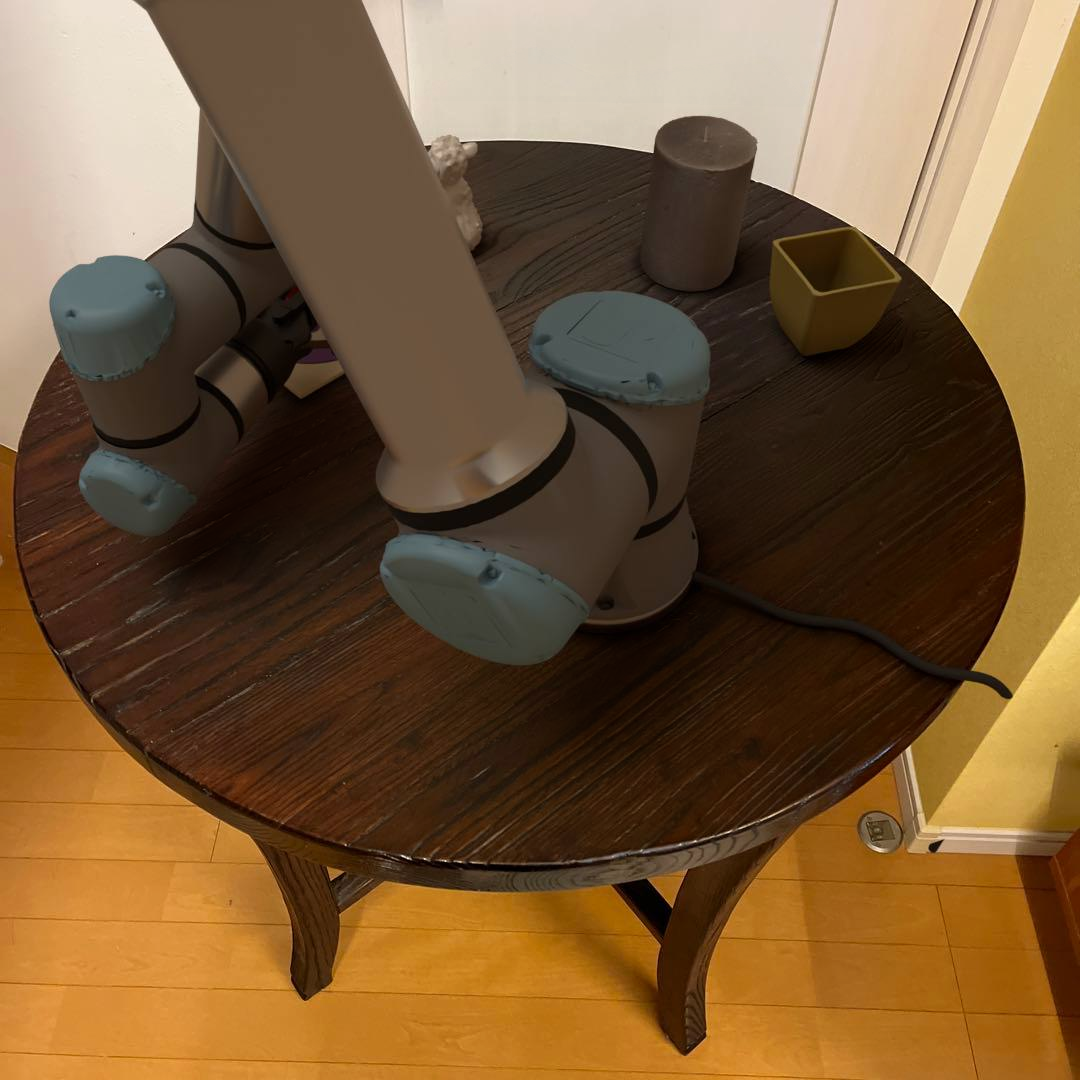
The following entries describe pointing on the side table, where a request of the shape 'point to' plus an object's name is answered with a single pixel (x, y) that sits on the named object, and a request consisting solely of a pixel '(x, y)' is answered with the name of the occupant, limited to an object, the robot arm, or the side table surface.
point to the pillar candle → (696, 201)
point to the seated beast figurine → (457, 183)
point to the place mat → (314, 371)
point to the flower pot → (829, 288)
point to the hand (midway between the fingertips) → (358, 220)
